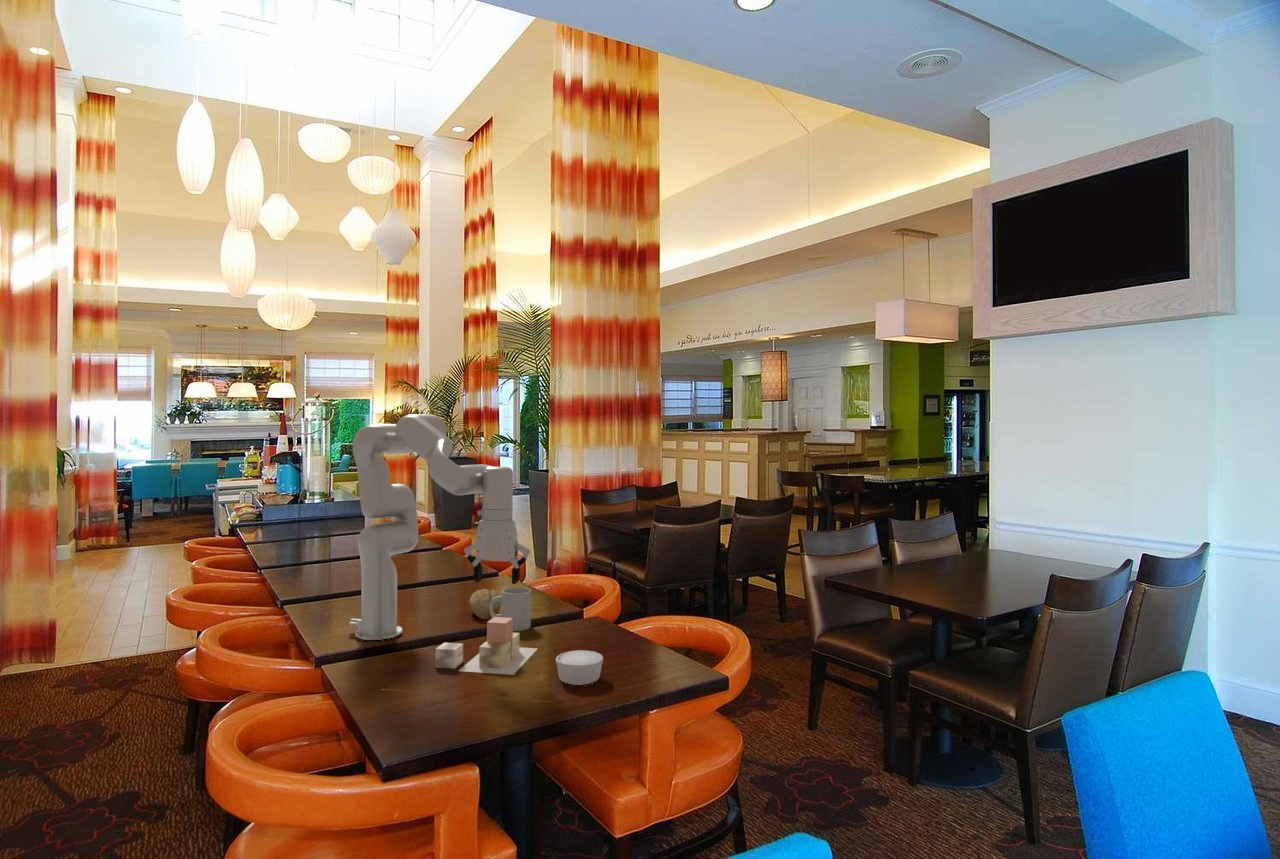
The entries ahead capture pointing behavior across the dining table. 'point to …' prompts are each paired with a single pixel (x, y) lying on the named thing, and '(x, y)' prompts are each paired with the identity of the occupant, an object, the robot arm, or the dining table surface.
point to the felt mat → (508, 669)
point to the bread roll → (484, 603)
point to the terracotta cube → (499, 629)
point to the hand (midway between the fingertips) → (496, 582)
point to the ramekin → (579, 667)
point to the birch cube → (449, 655)
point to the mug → (515, 607)
